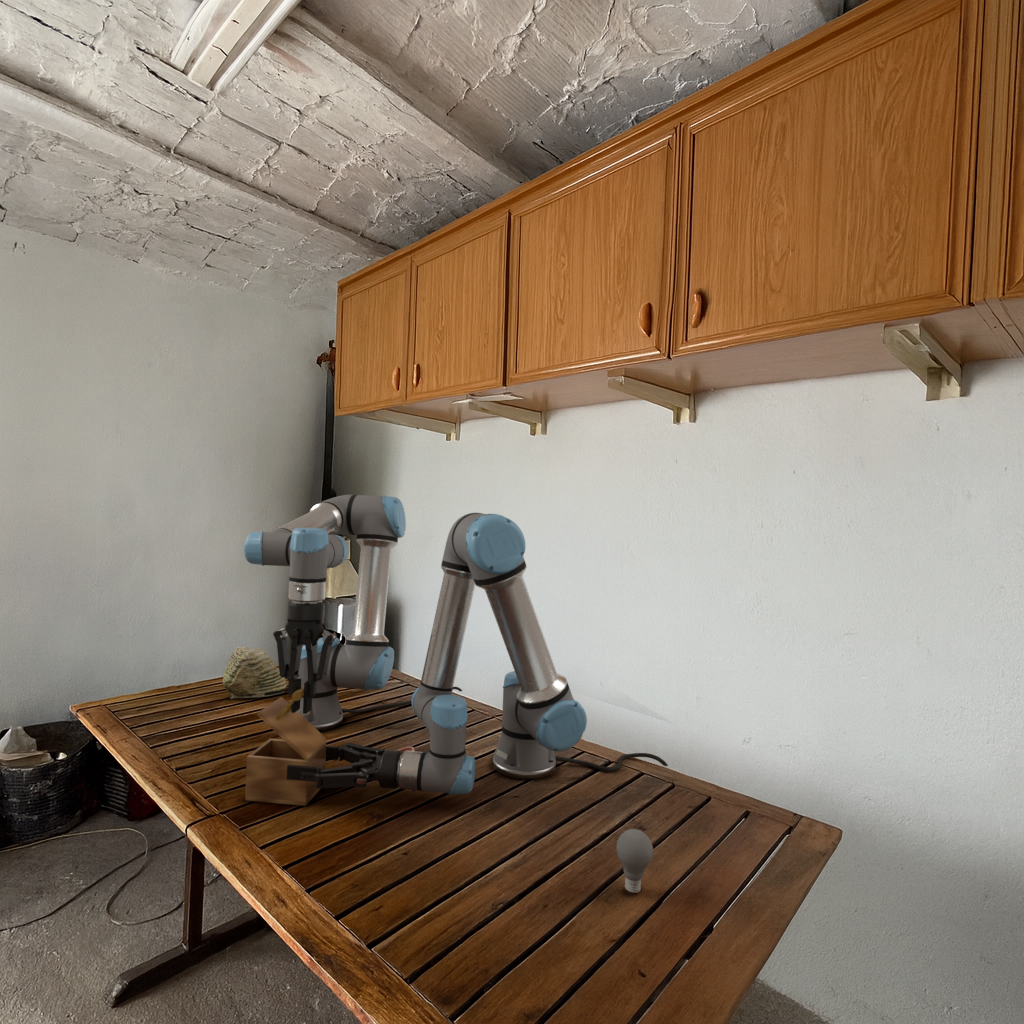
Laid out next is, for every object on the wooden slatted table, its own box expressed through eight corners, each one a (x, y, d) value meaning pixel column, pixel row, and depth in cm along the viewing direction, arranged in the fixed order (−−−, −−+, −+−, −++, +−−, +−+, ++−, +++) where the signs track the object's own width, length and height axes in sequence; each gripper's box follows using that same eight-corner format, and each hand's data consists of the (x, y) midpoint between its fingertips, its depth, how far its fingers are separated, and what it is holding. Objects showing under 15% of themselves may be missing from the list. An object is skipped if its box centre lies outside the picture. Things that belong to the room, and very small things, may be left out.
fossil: (218, 695, 195) (220, 647, 195) (278, 685, 208) (279, 640, 207) (228, 703, 189) (230, 653, 188) (289, 692, 201) (290, 645, 201)
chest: (245, 800, 131) (246, 756, 131) (268, 779, 141) (269, 738, 141) (305, 806, 130) (307, 761, 129) (324, 784, 140) (326, 743, 139)
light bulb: (610, 879, 108) (613, 822, 108) (644, 879, 109) (647, 822, 109) (619, 902, 102) (622, 840, 102) (655, 901, 103) (658, 840, 103)
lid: (256, 714, 130) (282, 684, 130) (279, 699, 140) (303, 671, 140) (306, 761, 129) (332, 731, 129) (325, 742, 140) (349, 714, 139)
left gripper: (264, 601, 131) (259, 713, 132) (334, 606, 130) (328, 720, 130) (281, 595, 139) (276, 702, 139) (347, 600, 137) (341, 708, 138)
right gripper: (384, 813, 122) (273, 803, 124) (413, 765, 144) (319, 757, 146) (386, 775, 121) (274, 765, 123) (415, 732, 144) (320, 725, 146)
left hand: (301, 710), depth 135 cm, fingers closed on lid, 2 cm apart
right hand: (299, 761), depth 135 cm, fingers closed on chest, 10 cm apart
